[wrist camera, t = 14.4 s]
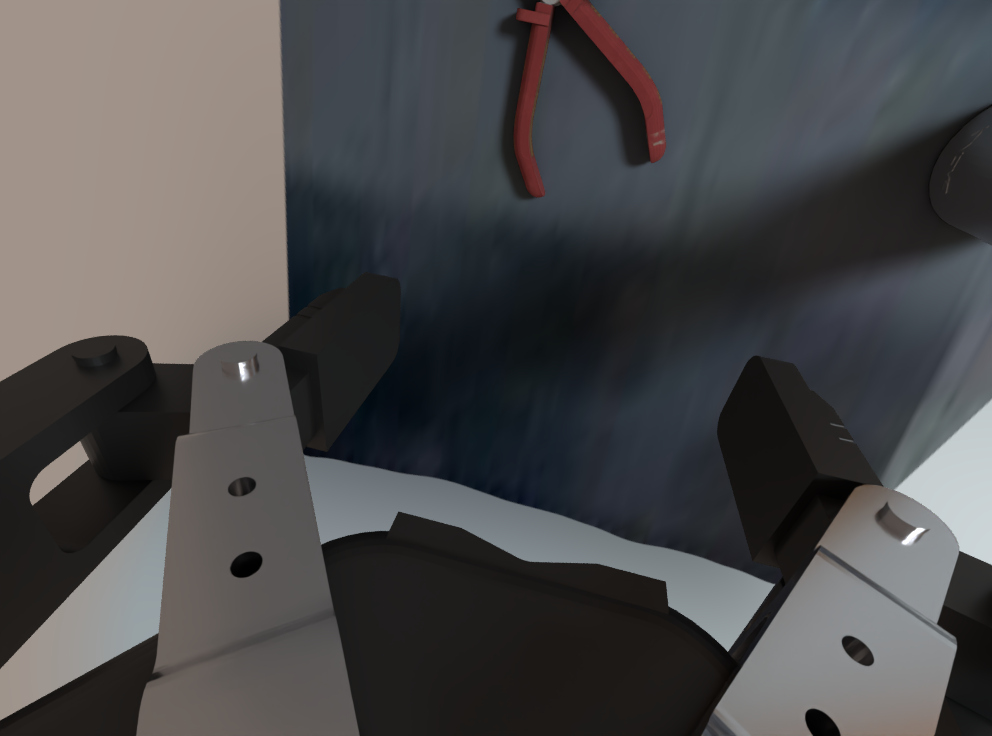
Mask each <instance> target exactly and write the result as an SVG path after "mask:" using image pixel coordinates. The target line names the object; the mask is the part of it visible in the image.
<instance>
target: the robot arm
mask: <svg viewBox="0 0 992 736" xmlns="http://www.w3.org/2000/svg"><path fill="white" fill-rule="evenodd" d="M929 197H930V200H931V204H932V207H933V209H934V210H935V212H936V213H937V215H938V216H939V217H940V218H941V219H943V220H944V221H945V222H946V223H948V224H949V225H952V226H954V227H956V228H958V229H960V230H962V231H964V232H966V233H968V234H970V235H972V236H974V237H976V238H979V239H980V240H982V241H984V242H986V243H988V244H990V245H992V107H990V108H988V109H987V110H985V111H983V112H982V113H980V114H979V115H978V116H976V117H975V118H974V119H972V120H971V121H970V122H969V123H967V124H966V125H965V126H964V127H963V128H962V129H961V130H960V131H959V132H958V133H957V134H956V135H955V136H954V137H953V138H952V139H951V140H950V142H949V143H948V144H947V146H946V147H945V149H944V150H943V151H942V153H941V154H940V156H939V158H938V160H937V162H936V164H935V166H934V168H933V171H932V175H931V179H930V183H929ZM400 295H401V289H400V283H399V280H398V279H396V278H392V277H387V276H382V275H378V274H373V273H368V272H365V273H364V274H362V275H361V276H360V277H359V278H358V279H356V280H355V281H354V282H353V283H352V284H350V285H349V286H348V287H347V288H346V289H345V288H338V289H335V290H333V291H330V292H327V293H324V294H322V295H320V296H319V297H318V298H316V299H315V300H314V301H312V302H311V303H310V304H309V305H308V307H307V308H306V307H305V308H304V309H302V310H301V311H300V312H299V313H297V316H294V317H292V318H291V319H290V320H289V321H287V322H286V323H285V324H284V325H283V326H281V327H280V328H279V329H277V330H276V331H275V332H274V333H272V334H271V335H270V336H269V337H267V338H266V339H265V340H264V341H262V342H257V341H238V342H232V343H227V344H223V345H220V346H217V347H215V348H212V349H210V350H208V351H206V352H205V353H203V354H202V355H201V356H200V357H199V358H198V359H197V360H196V362H195V364H155V363H152V360H151V357H150V354H149V352H148V349H147V346H146V345H145V343H144V342H142V341H141V340H139V339H136V338H133V337H127V336H117V335H114V336H99V337H94V338H88V339H84V340H80V341H77V342H74V343H71V344H68V345H66V346H64V347H62V348H60V349H58V350H56V351H54V352H52V353H51V354H49V355H47V356H45V357H43V358H42V359H40V360H38V361H36V362H34V363H33V364H31V365H29V366H27V367H26V368H24V369H22V370H20V371H18V372H17V373H15V374H13V375H12V376H10V377H8V378H6V379H4V380H3V381H1V382H0V669H1V667H2V666H3V665H4V664H5V663H6V662H7V661H8V660H9V659H10V658H11V657H12V656H13V655H14V654H15V653H16V652H17V650H18V649H19V648H20V647H21V646H22V645H23V644H24V643H25V642H26V641H27V640H28V639H29V638H30V637H31V636H32V635H33V634H34V633H35V631H36V630H37V629H38V628H39V627H40V626H41V625H42V624H43V623H44V622H45V621H46V620H47V619H48V618H49V617H50V616H51V615H52V613H53V612H54V611H55V610H56V609H57V608H58V607H59V606H60V605H61V604H62V603H63V602H64V601H65V600H66V599H67V597H69V595H70V594H71V593H72V592H73V591H74V590H75V589H76V588H77V587H78V586H79V585H80V584H81V583H82V582H83V581H84V580H85V579H86V577H87V576H88V575H89V574H90V573H91V572H92V571H93V570H94V569H95V568H96V567H97V566H98V565H99V564H100V563H101V562H102V560H103V559H104V558H105V557H106V556H107V555H108V554H109V553H110V552H111V551H112V550H113V549H114V548H115V547H116V546H117V545H118V544H119V543H120V541H121V540H122V539H123V538H124V537H125V536H126V535H127V534H128V533H129V532H130V531H131V530H132V529H133V528H134V527H135V526H136V525H137V523H138V522H139V521H140V520H141V519H142V518H143V517H144V516H145V515H146V514H147V513H148V512H149V511H150V510H151V509H152V508H153V507H154V505H155V504H156V503H157V502H158V501H159V500H160V499H161V498H162V497H163V496H164V495H165V494H166V493H167V492H168V491H169V490H170V489H171V487H172V490H171V501H170V512H169V523H168V534H167V546H166V557H165V568H164V580H163V591H162V602H161V614H160V625H159V633H158V634H156V635H155V636H152V637H151V638H149V639H147V640H145V641H143V642H142V643H140V644H138V645H136V646H134V647H132V648H131V649H129V650H127V651H125V652H123V653H122V654H120V655H118V656H116V657H114V658H113V659H111V660H109V661H107V662H105V663H104V664H102V665H100V666H98V667H96V668H94V669H93V670H91V671H89V672H87V673H85V674H84V675H82V676H80V677H78V678H77V679H75V680H73V681H71V682H69V683H67V684H66V685H64V686H62V687H60V688H58V689H57V690H55V691H53V692H51V693H49V694H47V695H46V696H44V697H42V698H40V699H38V700H37V701H35V702H33V703H31V704H29V705H28V706H26V707H24V708H22V709H20V710H19V711H17V712H15V713H13V714H11V715H9V716H8V717H6V718H4V719H2V720H0V736H992V565H990V564H988V563H986V562H984V561H981V560H979V559H977V558H974V557H972V556H970V555H967V554H965V553H963V552H961V551H959V545H958V542H957V540H956V537H955V536H954V534H953V533H952V531H951V530H950V529H949V528H948V526H947V525H946V524H945V523H944V522H943V521H942V520H941V519H940V518H939V517H938V516H937V515H935V514H934V513H933V512H932V511H930V510H929V509H927V508H926V507H925V506H923V505H922V504H920V503H919V502H917V501H915V500H914V499H912V498H910V497H908V496H906V495H904V494H902V493H900V492H897V491H895V490H892V489H889V488H886V487H884V486H883V485H882V483H881V482H880V480H879V479H878V477H877V476H876V474H875V472H874V471H873V469H872V468H871V466H870V465H869V463H868V461H867V460H866V458H865V457H864V455H863V454H862V452H861V451H860V449H859V447H858V446H857V444H855V443H853V438H852V436H851V435H850V433H849V432H848V430H847V429H845V428H844V424H843V422H842V421H841V419H840V418H839V416H838V415H837V413H836V411H835V410H834V408H833V407H832V406H830V405H829V404H828V403H827V402H826V401H825V400H823V399H822V398H821V397H820V396H819V395H818V394H816V393H815V392H814V391H812V390H810V389H809V387H808V386H807V384H806V382H805V381H804V379H803V377H802V376H801V374H800V372H799V371H798V369H797V367H796V366H795V365H794V364H793V363H789V362H784V361H779V360H775V359H770V358H765V357H761V356H753V357H752V358H751V359H750V360H749V361H748V362H747V364H746V365H745V367H744V369H743V371H742V373H741V375H740V377H739V379H738V381H737V383H736V384H735V386H734V388H733V390H732V392H731V394H730V396H729V398H728V400H727V402H726V404H725V406H724V408H723V410H722V412H721V414H720V417H719V421H718V428H717V435H718V440H719V444H720V447H721V451H722V454H723V458H724V462H725V465H726V469H727V472H728V476H729V479H730V483H731V486H732V490H733V494H734V497H735V501H736V504H737V508H738V511H739V515H740V518H741V522H742V526H743V529H744V533H745V536H746V540H747V543H748V547H749V550H750V554H751V558H752V561H753V562H757V563H761V564H765V565H769V566H773V567H777V568H780V570H781V573H782V577H781V579H780V580H779V581H778V582H777V583H776V585H775V586H774V587H773V588H772V590H771V591H770V593H769V594H768V596H767V597H766V598H765V600H764V601H763V603H762V604H761V606H760V607H759V608H758V610H757V611H756V613H755V614H754V616H753V617H752V619H751V620H750V621H749V623H748V624H747V626H746V627H745V628H744V630H743V631H742V633H741V634H740V636H739V637H738V638H737V640H736V641H735V643H734V644H733V645H732V647H731V648H730V650H729V651H728V652H727V651H726V650H725V648H724V647H722V646H721V645H720V644H719V643H718V642H717V641H716V640H715V639H714V638H713V637H712V636H711V635H709V634H708V633H707V632H706V631H705V630H703V629H702V628H700V627H699V626H698V625H696V623H694V622H693V621H692V620H690V619H688V618H687V617H685V616H684V615H682V614H680V613H679V612H678V611H676V610H674V609H672V608H670V607H669V606H668V599H667V589H666V582H665V581H661V580H657V579H653V578H650V577H646V576H642V575H638V574H634V573H631V572H627V571H623V570H619V569H615V568H612V567H608V566H604V565H600V564H588V563H586V564H585V563H583V564H582V563H549V562H548V563H547V562H528V561H524V560H521V559H519V558H517V557H515V556H513V555H512V554H510V553H508V552H506V551H504V550H502V549H500V548H498V547H496V546H494V545H493V544H491V543H489V542H487V541H485V540H483V539H481V538H479V537H477V536H475V535H474V534H472V533H470V532H468V531H466V530H464V529H462V528H459V527H455V526H452V525H448V524H444V523H440V522H436V521H433V520H429V519H425V518H421V517H417V516H413V515H410V514H406V513H402V512H398V514H397V516H396V518H395V520H394V522H393V525H392V526H391V529H390V530H389V531H375V532H364V533H359V534H354V535H348V536H345V537H342V538H338V539H335V540H332V541H329V542H326V543H324V544H322V545H321V543H320V538H319V533H318V527H317V522H316V517H315V512H314V507H313V502H312V497H311V492H310V487H309V481H308V476H307V471H306V466H305V461H304V455H303V450H304V448H305V447H306V446H307V447H310V448H314V449H318V450H322V451H326V452H327V451H328V449H329V448H330V447H331V445H332V444H333V443H334V441H335V440H336V438H337V437H338V436H339V434H340V433H341V432H342V430H343V429H344V428H345V426H346V425H347V423H348V422H349V421H350V419H351V418H352V417H353V415H354V414H355V413H356V411H357V410H358V409H359V407H360V406H361V404H362V403H363V402H364V400H365V399H366V398H367V396H368V395H369V394H370V392H371V391H372V389H373V388H374V387H375V385H376V384H377V383H378V381H379V380H380V379H381V377H382V376H383V374H384V373H385V372H386V370H387V369H388V368H389V366H390V365H391V364H392V362H393V360H394V359H395V356H396V354H397V350H398V346H399V340H400ZM79 441H81V443H82V446H83V448H84V450H85V452H86V454H87V456H88V458H89V460H88V461H87V462H85V463H84V464H83V465H82V466H81V467H79V468H78V469H77V470H76V471H74V472H73V473H72V474H71V475H70V476H68V477H67V478H66V479H65V480H64V481H62V482H61V483H60V484H59V485H57V486H56V487H55V488H54V489H52V490H51V491H50V492H49V493H48V494H46V495H45V496H44V497H43V498H42V499H40V500H39V501H38V502H37V503H35V504H34V505H33V506H32V504H31V502H30V498H29V493H30V488H31V485H32V483H33V481H34V479H35V478H36V477H37V475H38V474H39V473H40V472H41V471H42V470H43V469H44V468H45V467H46V466H47V465H49V464H50V463H51V462H52V461H54V460H55V459H57V458H58V457H59V456H61V455H62V454H63V453H64V452H66V451H67V450H68V449H70V448H71V447H72V446H74V445H75V444H76V443H77V442H79Z"/></svg>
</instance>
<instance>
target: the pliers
mask: <svg viewBox="0 0 992 736" xmlns="http://www.w3.org/2000/svg"><path fill="white" fill-rule="evenodd" d="M540 1H541V2H536V7H535V11H530V10H525V9H520V8H518V9H517V15H516V20H519V21H523V22H528V23H532V25H531V31H530V37H529V42H528V48H527V53H526V59H525V64H524V70H523V76H522V81H521V87H520V92H519V98H518V104H517V109H516V115H515V123H514V150H515V155H516V158H517V161H518V164H519V167H520V170H521V173H522V176H523V179H524V182H525V185H526V188H527V190H528V192H529V193H530V194H531V195H532V196H534V197H542V196H544V195H545V190H544V187H543V183H542V180H541V176H540V173H539V170H538V167H537V163H536V160H535V157H534V153H533V147H532V125H533V117H534V112H535V107H536V103H537V98H538V93H539V88H540V83H541V78H542V73H543V68H544V63H545V58H546V53H547V48H548V43H549V38H550V33H551V28H552V23H553V18H554V13H555V6H559V5H561V4H562V5H563V6H564V8H565V9H566V10H567V11H568V12H569V14H570V15H571V16H572V17H573V18H574V20H575V21H576V22H577V23H578V24H579V25H580V27H581V28H582V29H583V30H584V31H585V33H586V34H587V35H588V36H589V37H590V38H591V40H592V41H593V42H594V43H595V44H596V46H597V47H598V48H599V49H600V50H601V51H602V53H603V54H604V55H605V56H606V57H607V59H608V60H609V61H610V62H611V63H612V64H613V66H614V67H615V68H616V69H617V70H618V72H619V73H620V74H621V75H622V76H623V77H624V79H625V80H626V81H627V82H628V83H629V85H630V86H631V87H632V89H633V90H634V92H635V93H636V95H637V97H638V99H639V101H640V103H641V106H642V109H643V113H644V118H645V126H646V133H647V141H648V149H649V156H650V161H651V163H654V162H656V161H658V160H659V159H660V158H661V157H662V156H663V154H664V152H665V148H666V140H665V129H664V119H663V108H662V101H661V98H660V95H659V92H658V90H657V88H656V86H655V84H654V82H653V80H652V79H651V77H650V75H649V74H648V72H647V71H646V69H645V68H644V67H643V65H642V64H641V63H640V62H639V61H638V59H637V58H636V57H635V56H634V55H633V53H632V52H631V51H630V50H629V49H628V47H627V46H626V45H625V44H624V43H623V41H622V40H621V39H620V38H619V37H618V35H617V34H616V33H615V32H614V30H613V29H612V28H611V27H610V26H609V24H608V23H607V22H606V21H605V20H604V18H603V17H602V16H601V15H600V14H599V12H598V11H597V10H596V9H595V8H594V6H593V5H592V4H591V3H590V2H589V0H540Z"/></svg>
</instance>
